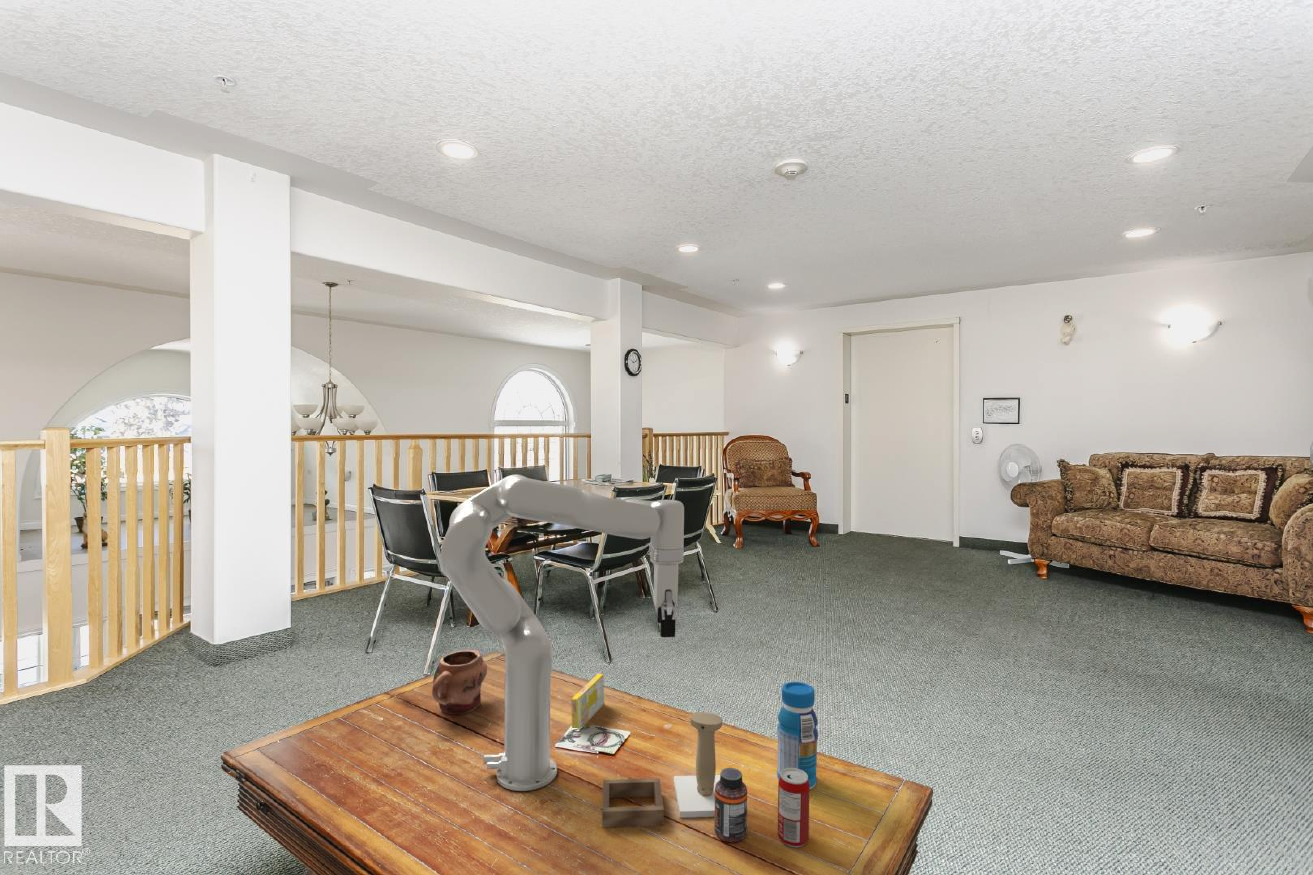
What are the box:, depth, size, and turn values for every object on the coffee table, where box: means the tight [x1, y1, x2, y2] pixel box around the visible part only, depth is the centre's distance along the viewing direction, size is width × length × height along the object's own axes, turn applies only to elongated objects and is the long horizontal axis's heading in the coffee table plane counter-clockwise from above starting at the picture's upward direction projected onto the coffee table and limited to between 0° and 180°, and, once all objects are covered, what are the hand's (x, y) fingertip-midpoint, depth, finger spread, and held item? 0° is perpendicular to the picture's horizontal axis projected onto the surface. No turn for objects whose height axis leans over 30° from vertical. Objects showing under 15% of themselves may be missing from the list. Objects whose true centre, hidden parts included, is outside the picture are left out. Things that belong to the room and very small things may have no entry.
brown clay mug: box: [431, 649, 488, 715], centre depth 163 cm, size 20×12×14 cm, turn 168°
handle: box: [689, 711, 723, 796], centre depth 126 cm, size 5×6×15 cm
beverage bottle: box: [776, 681, 819, 790], centre depth 133 cm, size 8×8×20 cm
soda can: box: [777, 768, 811, 848], centre depth 114 cm, size 6×6×12 cm
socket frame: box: [601, 777, 665, 828], centre depth 122 cm, size 11×10×3 cm
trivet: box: [673, 774, 720, 819], centre depth 126 cm, size 12×12×1 cm
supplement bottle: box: [713, 767, 748, 843], centre depth 116 cm, size 6×6×11 cm
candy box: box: [570, 673, 605, 729], centre depth 161 cm, size 16×2×8 cm, turn 162°
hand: (665, 629), depth 143 cm, fingers open, 9 cm apart
